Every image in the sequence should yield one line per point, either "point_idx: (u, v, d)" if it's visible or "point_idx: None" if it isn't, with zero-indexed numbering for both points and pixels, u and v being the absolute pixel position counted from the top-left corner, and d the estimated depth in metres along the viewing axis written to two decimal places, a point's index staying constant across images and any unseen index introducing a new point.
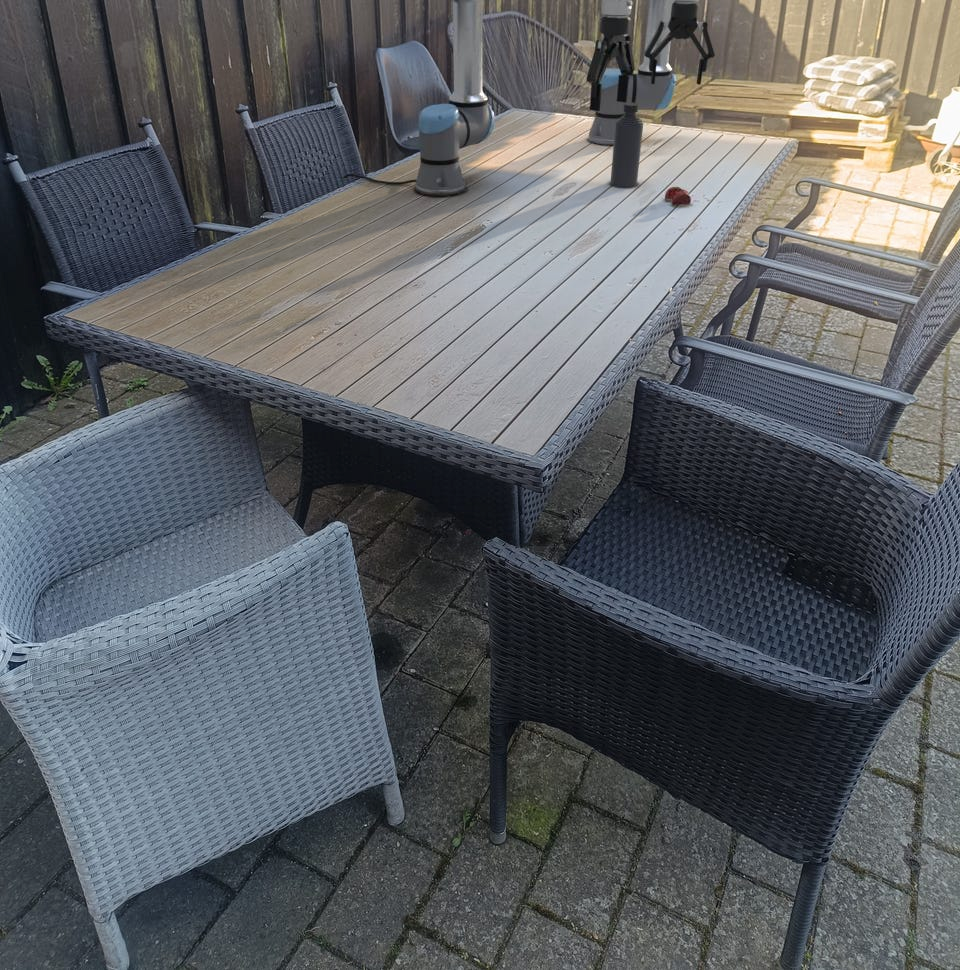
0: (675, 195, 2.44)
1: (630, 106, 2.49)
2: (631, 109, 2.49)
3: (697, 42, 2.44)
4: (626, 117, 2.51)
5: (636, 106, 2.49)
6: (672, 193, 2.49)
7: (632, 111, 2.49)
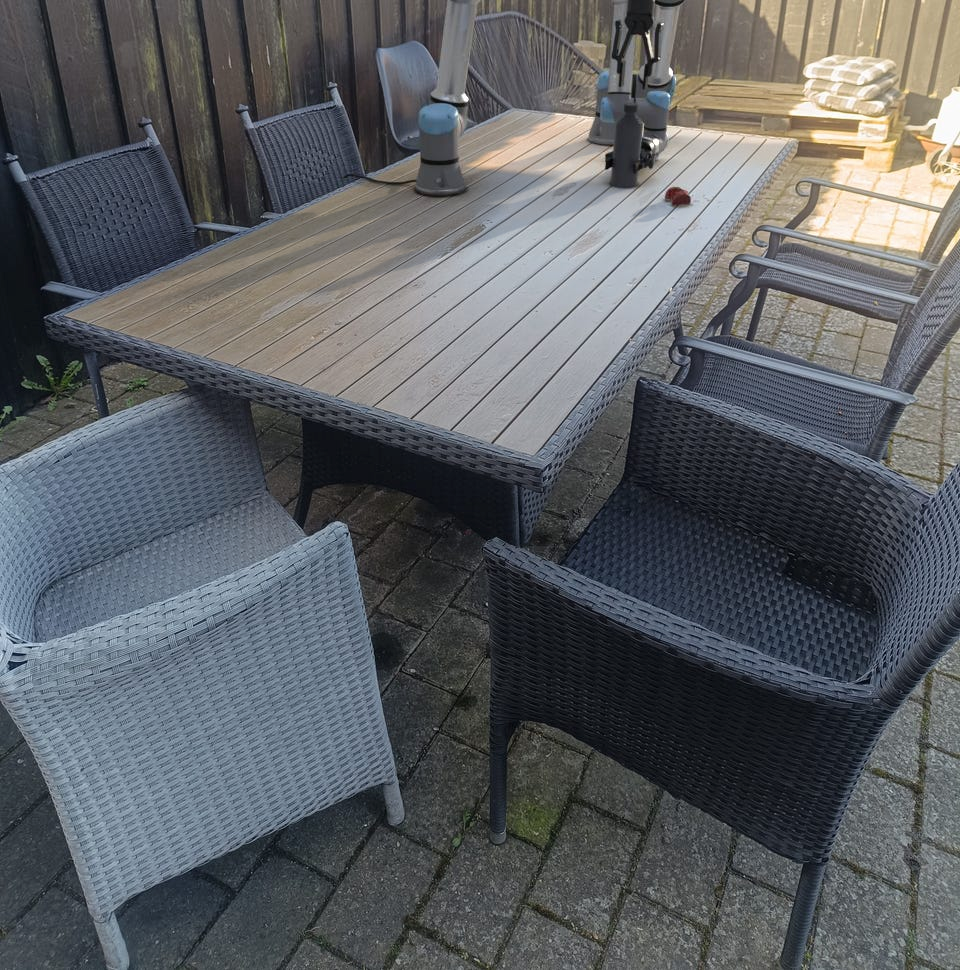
0: (675, 195, 2.44)
1: (630, 106, 2.49)
2: (631, 109, 2.49)
3: None
4: (626, 117, 2.51)
5: (636, 106, 2.49)
6: (672, 193, 2.49)
7: (632, 111, 2.49)
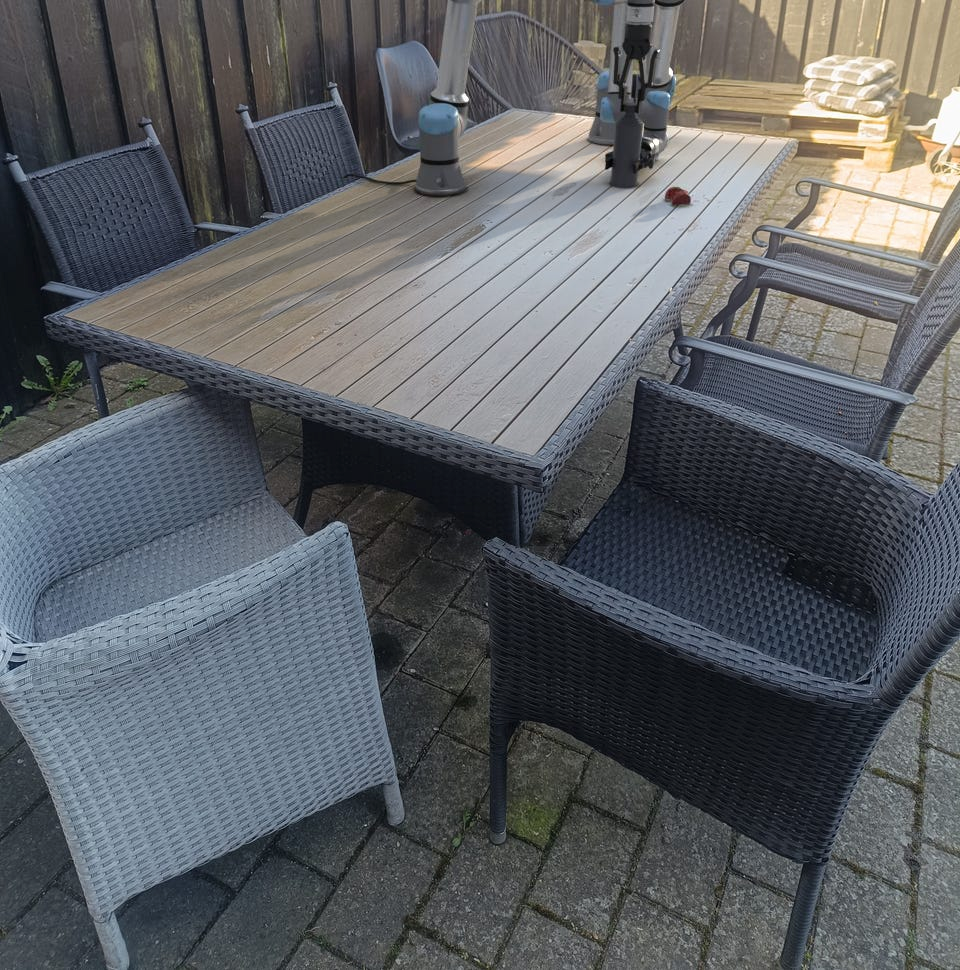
0: (675, 195, 2.44)
1: (630, 106, 2.49)
2: (631, 109, 2.49)
3: None
4: (626, 117, 2.51)
5: (636, 106, 2.49)
6: (672, 193, 2.49)
7: (632, 111, 2.49)
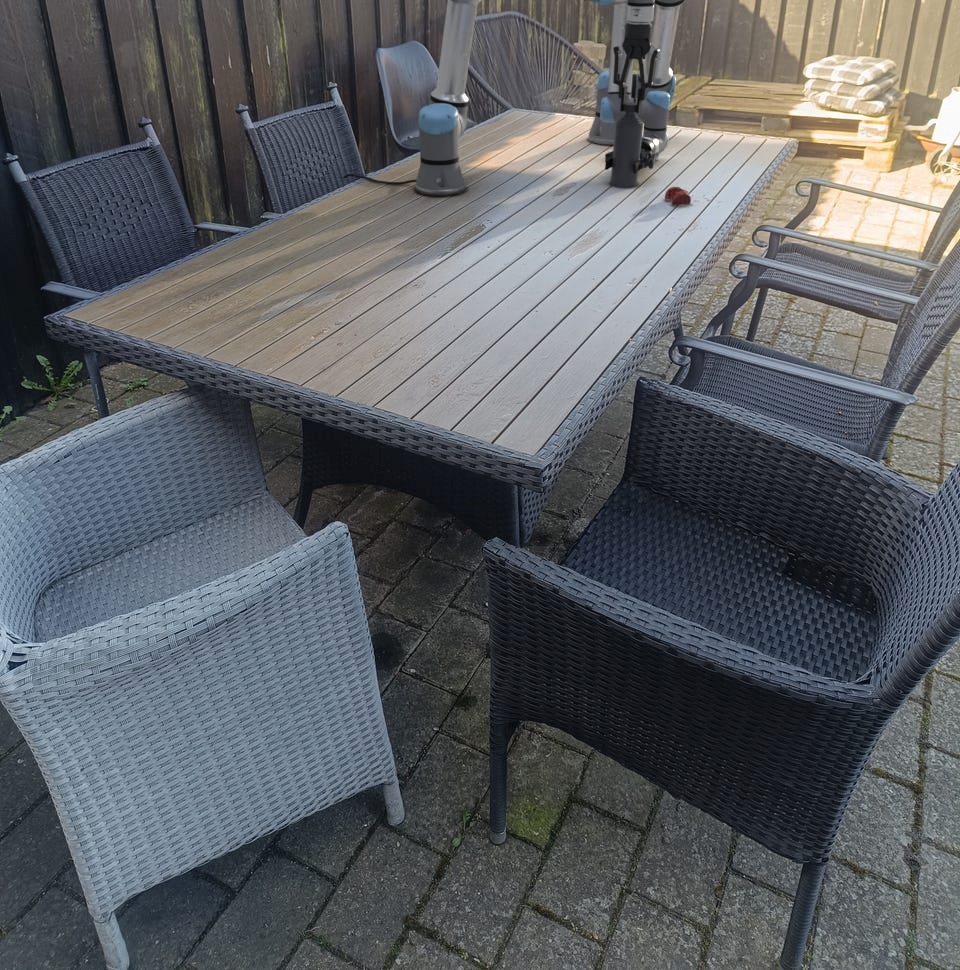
0: (675, 195, 2.44)
1: None
2: None
3: None
4: (626, 117, 2.51)
5: None
6: (672, 193, 2.49)
7: None
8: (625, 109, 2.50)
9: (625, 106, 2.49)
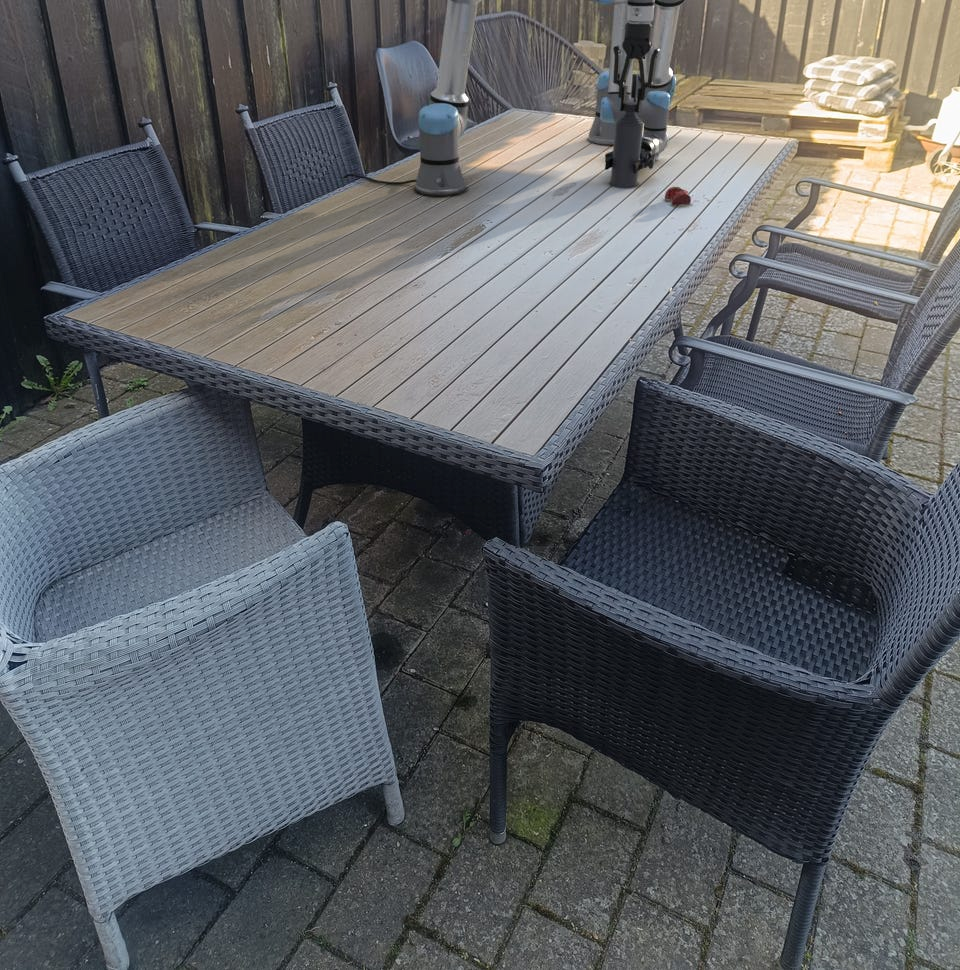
0: (675, 195, 2.44)
1: None
2: None
3: None
4: (626, 117, 2.51)
5: None
6: (672, 193, 2.49)
7: None
8: (635, 109, 2.49)
9: (635, 106, 2.49)
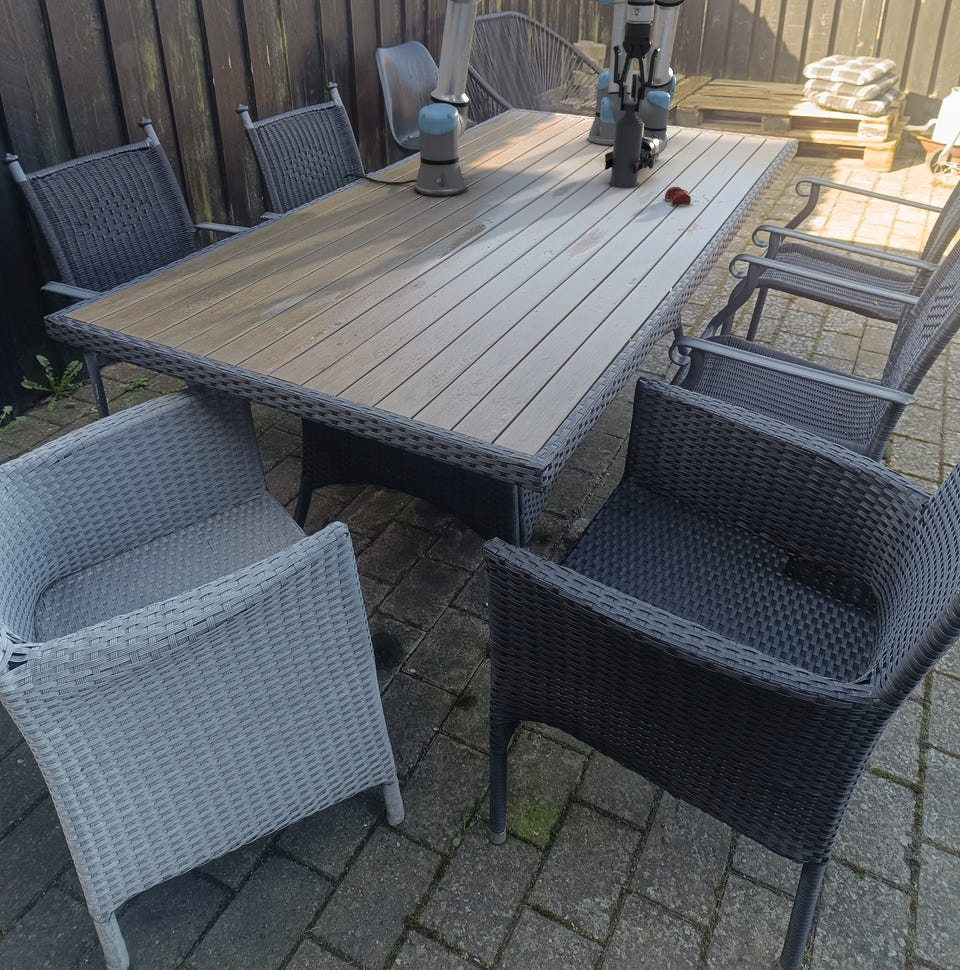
0: (675, 195, 2.44)
1: (624, 103, 2.51)
2: (624, 106, 2.51)
3: None
4: (626, 117, 2.51)
5: (625, 104, 2.49)
6: (672, 193, 2.49)
7: None
8: None
9: None
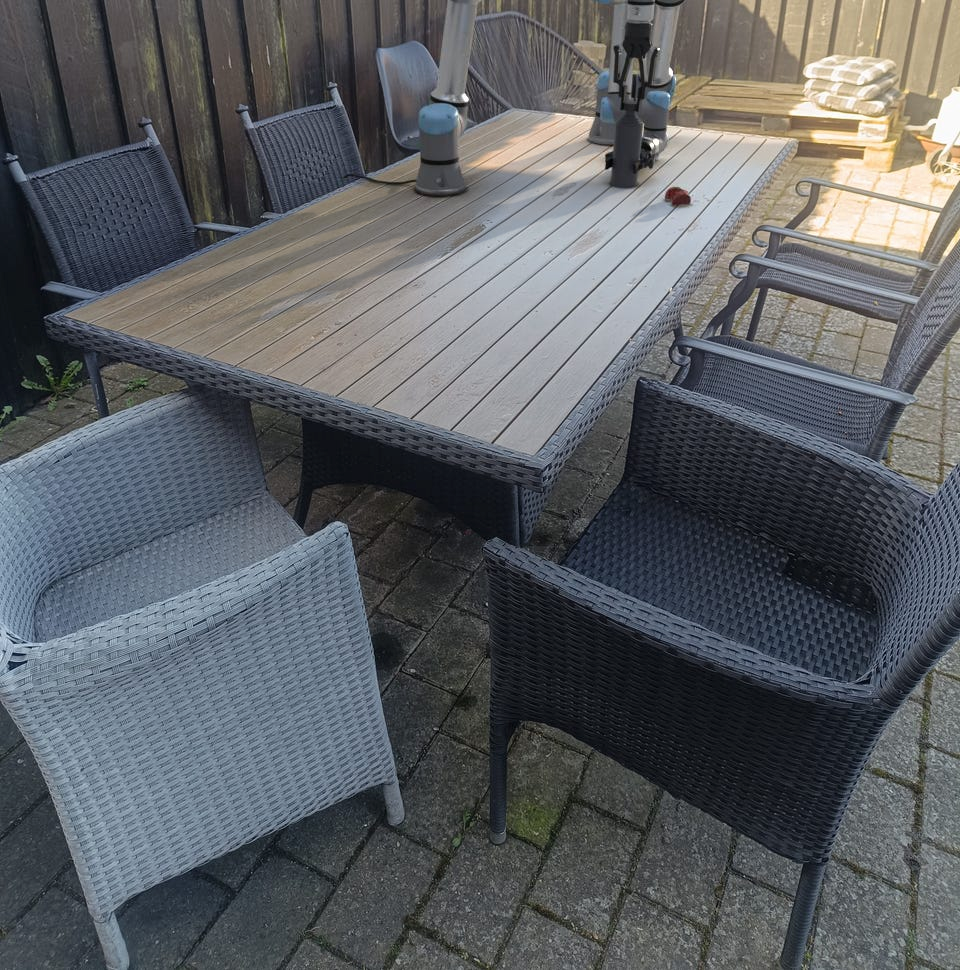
0: (675, 195, 2.44)
1: (628, 104, 2.48)
2: (629, 107, 2.49)
3: None
4: (626, 117, 2.51)
5: (635, 105, 2.48)
6: (672, 193, 2.49)
7: (630, 109, 2.49)
8: None
9: None
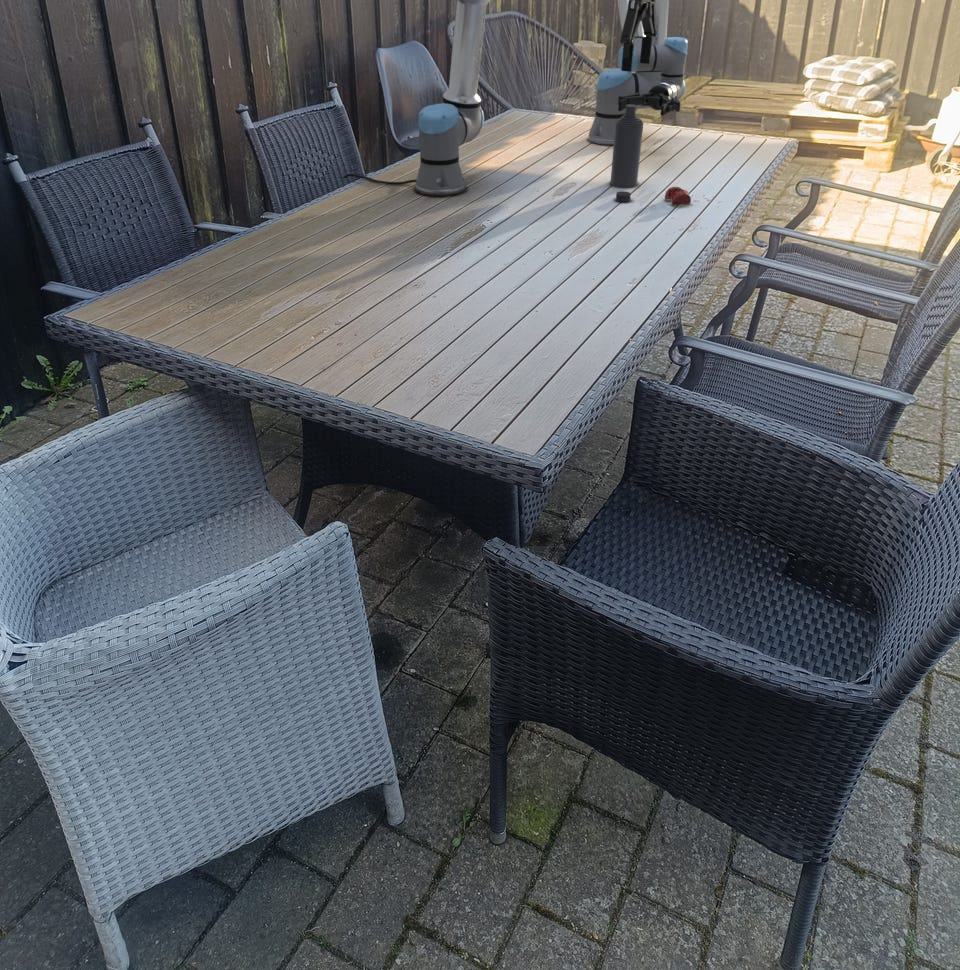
0: (675, 195, 2.44)
1: None
2: None
3: None
4: (626, 117, 2.51)
5: None
6: (672, 193, 2.49)
7: None
8: (625, 200, 2.48)
9: (625, 197, 2.47)
